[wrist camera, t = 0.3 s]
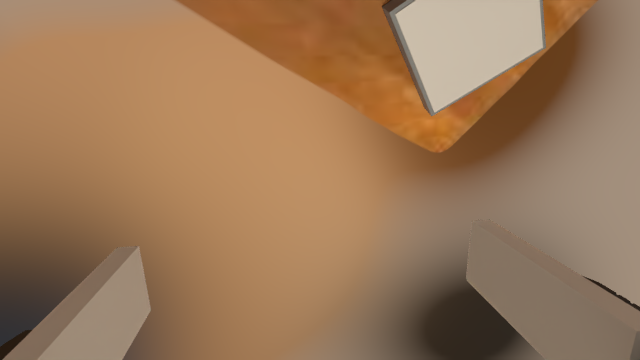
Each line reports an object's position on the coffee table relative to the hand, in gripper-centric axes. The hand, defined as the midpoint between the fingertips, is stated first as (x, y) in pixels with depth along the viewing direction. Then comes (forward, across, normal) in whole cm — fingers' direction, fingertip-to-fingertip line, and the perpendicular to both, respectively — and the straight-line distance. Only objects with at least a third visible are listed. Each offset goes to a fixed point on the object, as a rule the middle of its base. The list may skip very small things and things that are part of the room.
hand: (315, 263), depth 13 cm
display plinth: (+32, +23, +14) cm, 42 cm away
